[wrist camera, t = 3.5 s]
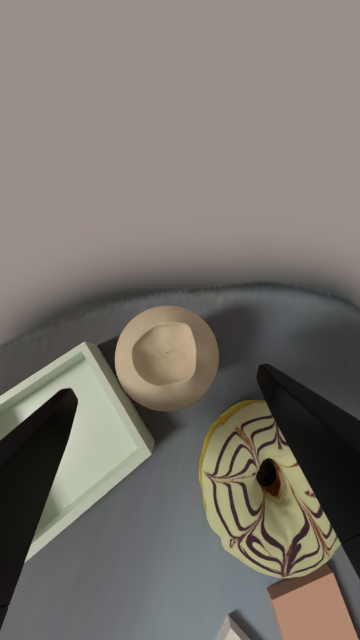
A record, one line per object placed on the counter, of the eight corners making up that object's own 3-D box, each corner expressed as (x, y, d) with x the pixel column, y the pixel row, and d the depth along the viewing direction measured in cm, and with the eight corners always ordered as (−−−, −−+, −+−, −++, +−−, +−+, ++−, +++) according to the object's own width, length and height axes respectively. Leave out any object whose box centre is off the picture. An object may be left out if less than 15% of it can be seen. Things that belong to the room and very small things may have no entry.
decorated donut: (255, 578, 13) (286, 659, 9) (173, 449, 15) (172, 474, 12) (340, 477, 15) (393, 512, 11) (256, 375, 17) (277, 377, 14)
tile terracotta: (352, 643, 12) (370, 671, 11) (291, 675, 12) (303, 707, 11) (319, 555, 14) (333, 572, 13) (263, 580, 13) (271, 600, 12)
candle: (172, 323, 18) (168, 273, 9) (209, 361, 17) (252, 352, 8) (132, 360, 17) (77, 349, 7) (170, 403, 16) (162, 454, 6)
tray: (155, 440, 15) (151, 454, 13) (42, 535, 13) (12, 572, 11) (96, 345, 17) (84, 341, 15) (-8, 414, 15) (-41, 422, 13)
